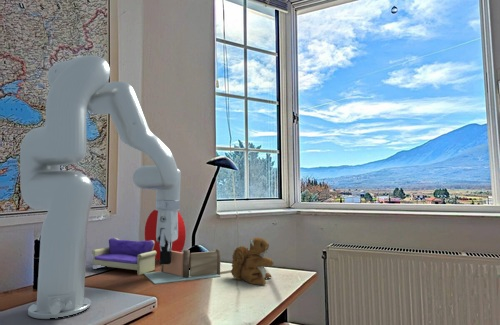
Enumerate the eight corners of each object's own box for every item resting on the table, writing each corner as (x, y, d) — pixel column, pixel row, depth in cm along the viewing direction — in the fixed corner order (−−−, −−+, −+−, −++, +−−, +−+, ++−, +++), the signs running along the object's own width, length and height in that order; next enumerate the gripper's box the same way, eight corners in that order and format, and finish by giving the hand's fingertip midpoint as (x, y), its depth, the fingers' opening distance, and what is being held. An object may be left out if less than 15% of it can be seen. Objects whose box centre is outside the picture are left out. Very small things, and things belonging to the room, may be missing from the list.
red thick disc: (184, 262, 134) (186, 209, 136) (171, 264, 130) (173, 209, 131) (156, 255, 148) (157, 207, 149) (143, 256, 143) (145, 207, 145)
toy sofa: (90, 270, 120) (91, 239, 121) (108, 265, 128) (110, 236, 129) (140, 276, 112) (141, 243, 113) (156, 270, 120) (157, 240, 121)
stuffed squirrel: (266, 286, 102) (266, 240, 103) (222, 281, 108) (223, 237, 109) (276, 278, 111) (277, 236, 112) (236, 274, 117) (237, 234, 118)
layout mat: (220, 276, 113) (220, 275, 113) (154, 284, 102) (154, 283, 102) (203, 267, 125) (203, 266, 125) (143, 274, 114) (143, 272, 114)
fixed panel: (221, 274, 115) (221, 248, 116) (183, 279, 109) (184, 251, 109) (218, 273, 117) (219, 247, 117) (181, 277, 110) (182, 250, 111)
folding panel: (180, 276, 110) (181, 250, 111) (160, 271, 117) (161, 246, 117) (184, 275, 112) (185, 249, 112) (164, 270, 118) (165, 246, 119)
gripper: (173, 207, 106) (171, 269, 104) (184, 205, 121) (182, 259, 119) (149, 206, 106) (146, 268, 105) (162, 204, 121) (160, 259, 119)
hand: (165, 263), depth 112 cm, fingers closed
